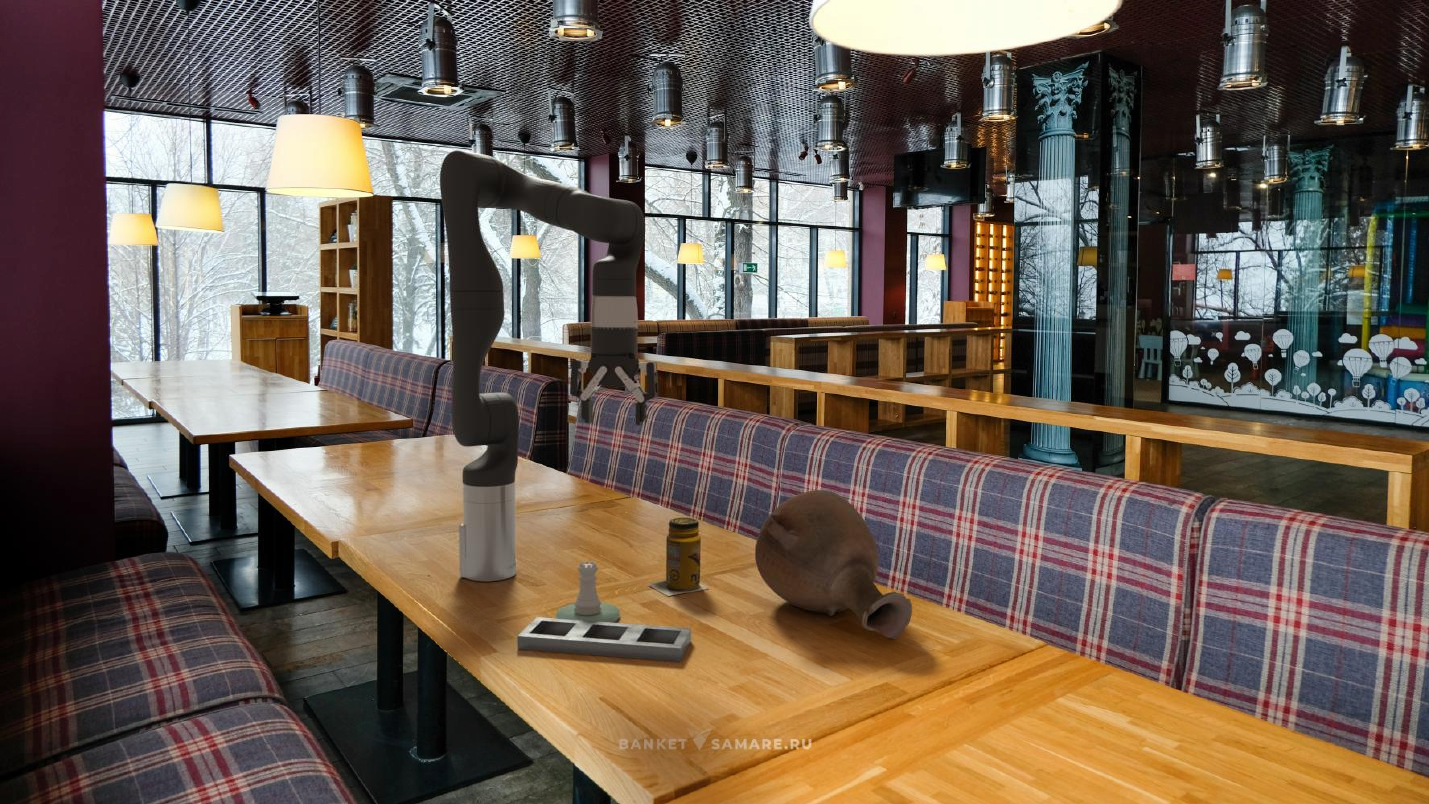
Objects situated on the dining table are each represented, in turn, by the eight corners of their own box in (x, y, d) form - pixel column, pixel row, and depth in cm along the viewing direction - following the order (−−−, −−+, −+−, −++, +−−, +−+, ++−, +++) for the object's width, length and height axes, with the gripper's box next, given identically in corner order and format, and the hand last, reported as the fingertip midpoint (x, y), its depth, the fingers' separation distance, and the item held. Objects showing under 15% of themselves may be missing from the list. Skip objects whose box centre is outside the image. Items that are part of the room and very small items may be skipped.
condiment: (709, 588, 163) (710, 522, 162) (668, 597, 159) (668, 528, 157) (687, 578, 169) (688, 513, 168) (647, 585, 165) (647, 519, 163)
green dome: (547, 625, 144) (547, 620, 144) (567, 604, 154) (567, 600, 154) (610, 630, 143) (610, 625, 142) (626, 608, 152) (626, 604, 152)
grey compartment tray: (517, 649, 134) (517, 635, 134) (536, 629, 142) (536, 617, 142) (680, 661, 131) (680, 648, 130) (691, 641, 138) (691, 628, 138)
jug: (742, 592, 162) (834, 685, 136) (731, 490, 155) (827, 568, 129) (841, 557, 169) (946, 639, 144) (835, 459, 163) (945, 527, 137)
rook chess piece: (574, 607, 150) (574, 559, 149) (602, 607, 151) (602, 559, 150) (572, 616, 146) (572, 567, 145) (601, 616, 146) (601, 567, 145)
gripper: (564, 324, 148) (564, 425, 150) (651, 326, 146) (651, 428, 147) (578, 323, 155) (579, 419, 157) (662, 324, 153) (661, 422, 155)
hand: (614, 423), depth 152 cm, fingers open, 8 cm apart
